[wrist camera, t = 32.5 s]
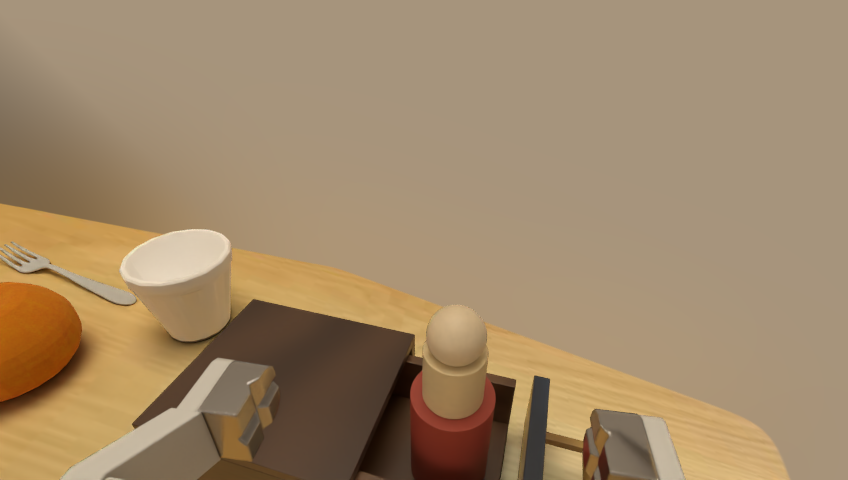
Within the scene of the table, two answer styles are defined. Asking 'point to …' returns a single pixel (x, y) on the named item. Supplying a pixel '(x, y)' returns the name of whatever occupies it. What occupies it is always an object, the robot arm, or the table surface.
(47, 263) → the fork
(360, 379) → the cabinet
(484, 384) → the doll
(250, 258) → the table surface
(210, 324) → the cup
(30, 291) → the fruit
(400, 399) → the drawer
